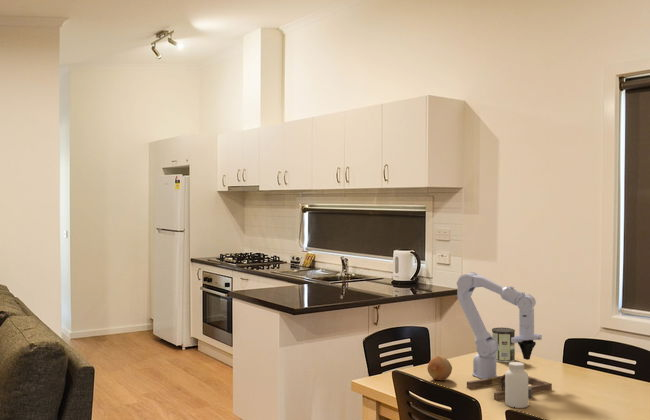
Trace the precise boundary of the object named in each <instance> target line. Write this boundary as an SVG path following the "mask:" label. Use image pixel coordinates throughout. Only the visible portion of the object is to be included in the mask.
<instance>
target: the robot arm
mask: <svg viewBox="0 0 650 420" xmlns="http://www.w3.org/2000/svg"><path fill="white" fill-rule="evenodd" d="M456 286H457V288H456V290H457V293H456V296H457V297H456V298H457V300H458V303H459V304H460V306H461V309H462V310H463V312H464V314H465V317H466V319H467V321H468V324H469V325H470V328H471V329H472V332H473V334H474V336H475V338H474V343H475V345H476V352H477V354H475V355H474V357H473V361H472V362H473V364H472V367H473V369H472V370H473V372H472V373H471V376H474V377H475V378H478V379H486V378H492V377H498V376H499V375H497V361H496V351H497V350H498V343H497V341H496V340H495V339H493V337H492V333H490V332H489V331H488V330H487V328H486V326H485V324H484V322H483V319H482V317H481V315H480V313H479V311H478V309H477V307H476V305H475V302H474V301H473V298H472V294H473V292H474V291H475V289H476V288H484V289H486V290H489V291H490V292H493V293H496V294H498V295H500V296H501V297H500V298H501V299H502V300H504V301H505V302H508V303H510V304H512V305H514V306H516V307H518V309H519V314H518V316H519V317H518V319H519V320H518V322H519V323H518V325H519V326H518V327H519V329H518V333H519V334H518V335H516V336H515V337H513V338H511V342H512V343H515V344H517V345H518V346H519V347H520V350H521V353H522V358H523V360H525V361H526V360H527V361H528V360H530V359H531V355H532V352H533V350H534V348H535V346H536V341H542V339H543V335H542V334H540V333H536V334H535V306H536V303H537V300H536V298H535V297H534V296H532V295H531V294H526V292H524V291H519V290H517V289H515V287H514V286H502V285H501V284H498V283H496V282H494V281H492V280H491V279H488V278H487V277H486V276H483V275H481V274H478V273H476V272H472V271H471V272H469V273H465V274H461V275H460V276H459V277H458V278H457V281H456Z"/></svg>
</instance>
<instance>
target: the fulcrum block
mask: <svg viewBox="0 0 650 420" xmlns="http://www.w3.org/2000/svg"><path fill="white" fill-rule="evenodd" d="M531 398H532V394H531V387H528V399H531Z"/></svg>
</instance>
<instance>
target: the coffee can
mask: <svg viewBox="0 0 650 420" xmlns="http://www.w3.org/2000/svg"><path fill="white" fill-rule="evenodd" d="M515 332H516V330H515V329H513V328H510V327H494V328H491V335H492V337H493V339H495V340H496V341H497V343H498V350H497V351H496V363H510V362H516V354H515V353H516V352H515V351H516V350H515V349H516V347H515V346H516V343H512V342H511V338H513V337H516V336H515V335H516V334H515Z"/></svg>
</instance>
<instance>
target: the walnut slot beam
mask: <svg viewBox="0 0 650 420" xmlns="http://www.w3.org/2000/svg"><path fill="white" fill-rule="evenodd" d="M497 376H498V377H492V378H486V379H481V378H479V379H474V380H469V381H466V388H467V389H476V388H483V387H487V386H488V387H489V386H493V385H499V384H500V385H501V377H502V376H503V375H497ZM503 382H505V379H504V380H503ZM528 387H531V395H533V394H537V393H542V392H543V393H544V392H547V391H548V392H549V391H552V390H553V387H552V383H551V382H547V381H546V380H542V379H538V378H536V377H533V376H530V375H528ZM493 400H496V401H500V400H505V390H500V391H495V392H493Z"/></svg>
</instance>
